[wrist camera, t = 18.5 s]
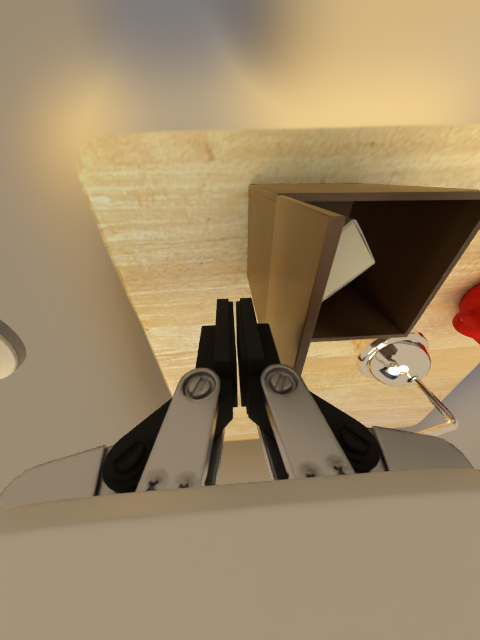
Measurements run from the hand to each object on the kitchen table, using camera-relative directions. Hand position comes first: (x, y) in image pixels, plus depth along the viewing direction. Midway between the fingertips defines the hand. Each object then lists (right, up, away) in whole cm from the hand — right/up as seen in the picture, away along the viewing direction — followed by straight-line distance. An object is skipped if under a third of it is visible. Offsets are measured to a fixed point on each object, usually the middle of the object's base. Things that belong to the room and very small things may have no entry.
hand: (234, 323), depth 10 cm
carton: (+8, +11, +15) cm, 20 cm away
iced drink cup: (+19, +2, +23) cm, 30 cm away
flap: (+3, 0, 0) cm, 3 cm away
